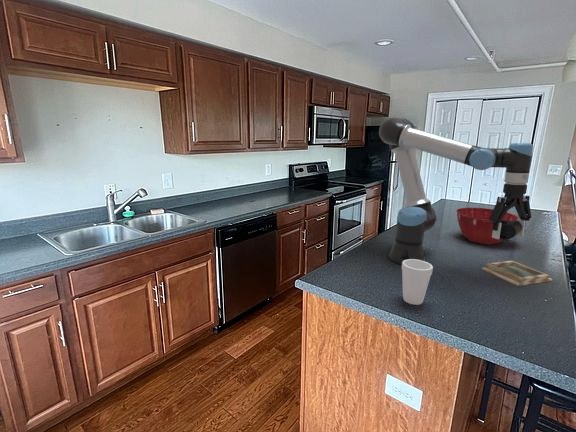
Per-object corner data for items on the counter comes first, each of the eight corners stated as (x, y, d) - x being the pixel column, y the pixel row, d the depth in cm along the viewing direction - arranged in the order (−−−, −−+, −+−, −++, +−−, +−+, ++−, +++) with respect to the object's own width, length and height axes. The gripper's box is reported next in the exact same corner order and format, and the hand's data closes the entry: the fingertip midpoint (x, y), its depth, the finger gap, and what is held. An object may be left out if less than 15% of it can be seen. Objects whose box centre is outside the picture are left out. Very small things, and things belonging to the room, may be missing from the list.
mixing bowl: (508, 254, 153) (515, 223, 150) (445, 240, 171) (450, 213, 168) (515, 240, 174) (521, 213, 170) (459, 229, 192) (463, 205, 188)
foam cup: (420, 293, 113) (425, 259, 110) (432, 307, 104) (438, 270, 101) (394, 293, 112) (398, 259, 109) (404, 307, 104) (408, 270, 100)
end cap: (514, 242, 123) (517, 225, 121) (493, 238, 128) (495, 222, 126) (520, 236, 129) (523, 220, 128) (500, 233, 134) (502, 217, 133)
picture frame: (517, 286, 120) (518, 280, 119) (481, 269, 135) (482, 263, 134) (552, 280, 125) (553, 275, 124) (513, 265, 140) (515, 259, 139)
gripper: (500, 186, 117) (492, 242, 122) (548, 183, 123) (539, 236, 128) (482, 183, 124) (476, 236, 129) (529, 181, 130) (521, 231, 135)
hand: (507, 236), depth 128 cm, fingers closed on end cap, 12 cm apart
